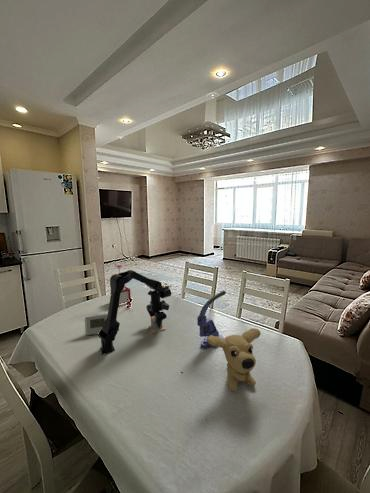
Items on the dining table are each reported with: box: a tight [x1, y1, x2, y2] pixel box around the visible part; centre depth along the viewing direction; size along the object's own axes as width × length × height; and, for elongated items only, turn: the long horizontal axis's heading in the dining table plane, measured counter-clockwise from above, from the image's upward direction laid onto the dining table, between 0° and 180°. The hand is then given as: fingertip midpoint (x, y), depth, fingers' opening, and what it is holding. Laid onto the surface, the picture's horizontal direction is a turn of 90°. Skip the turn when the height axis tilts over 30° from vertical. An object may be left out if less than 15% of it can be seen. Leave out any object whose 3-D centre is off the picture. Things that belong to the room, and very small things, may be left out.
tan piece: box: [147, 325, 166, 334], centre depth 144 cm, size 8×8×6 cm
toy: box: [206, 327, 261, 392], centre depth 98 cm, size 25×20×20 cm
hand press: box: [196, 290, 227, 350], centre depth 127 cm, size 19×9×28 cm, turn 127°
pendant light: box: [115, 264, 132, 304], centre depth 185 cm, size 11×11×30 cm
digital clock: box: [84, 312, 108, 336], centre depth 142 cm, size 16×9×11 cm, turn 96°
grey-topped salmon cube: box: [150, 316, 163, 330], centre depth 144 cm, size 5×5×7 cm
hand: (156, 324), depth 144 cm, fingers open, 9 cm apart
